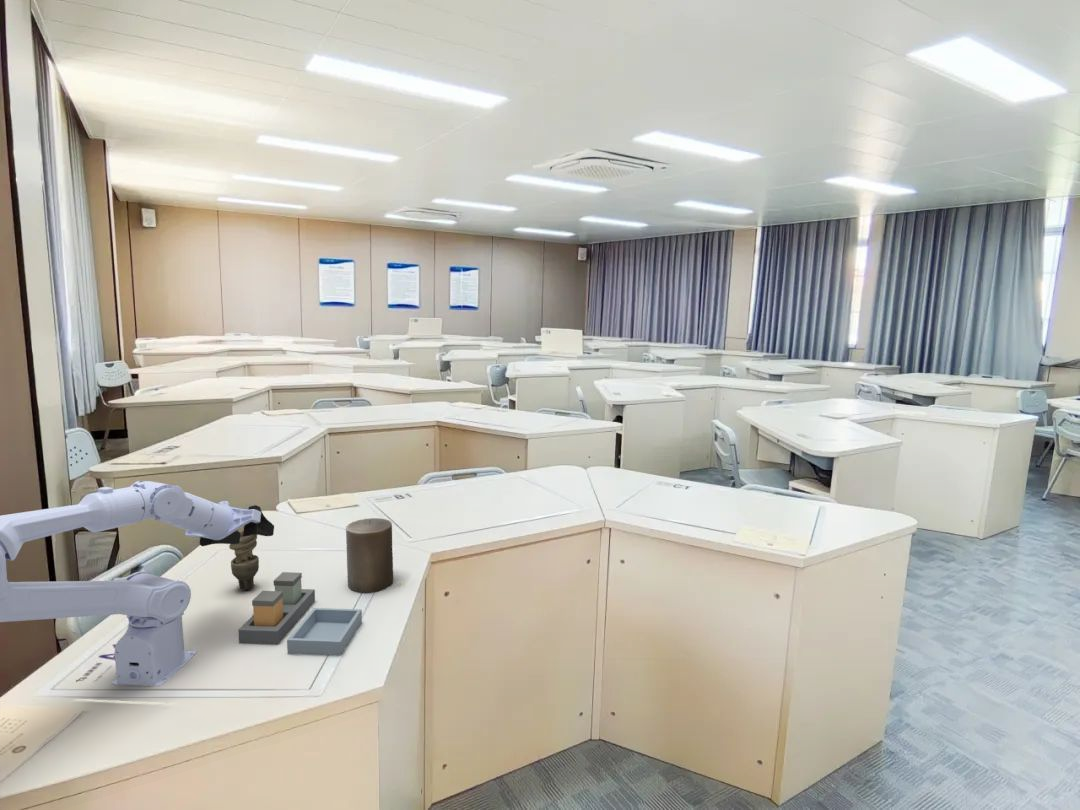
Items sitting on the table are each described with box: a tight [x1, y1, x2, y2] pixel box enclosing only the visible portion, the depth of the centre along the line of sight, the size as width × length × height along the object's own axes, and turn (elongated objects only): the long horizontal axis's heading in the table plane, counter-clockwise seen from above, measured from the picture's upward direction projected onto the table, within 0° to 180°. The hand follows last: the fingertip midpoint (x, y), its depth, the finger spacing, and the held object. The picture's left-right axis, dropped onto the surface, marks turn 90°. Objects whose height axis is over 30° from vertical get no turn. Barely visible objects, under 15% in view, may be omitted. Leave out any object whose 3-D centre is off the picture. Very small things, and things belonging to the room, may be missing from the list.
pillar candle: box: [345, 517, 394, 594], centre depth 126 cm, size 10×10×15 cm
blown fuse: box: [251, 590, 283, 627], centre depth 106 cm, size 4×4×7 cm
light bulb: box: [228, 525, 260, 592], centre depth 122 cm, size 6×6×15 cm
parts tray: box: [286, 607, 363, 656], centre depth 105 cm, size 11×9×3 cm
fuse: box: [273, 571, 303, 605], centre depth 114 cm, size 4×4×7 cm
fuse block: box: [237, 588, 316, 645], centre depth 110 cm, size 16×7×3 cm, turn 179°
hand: (255, 534), depth 112 cm, fingers open, 7 cm apart
